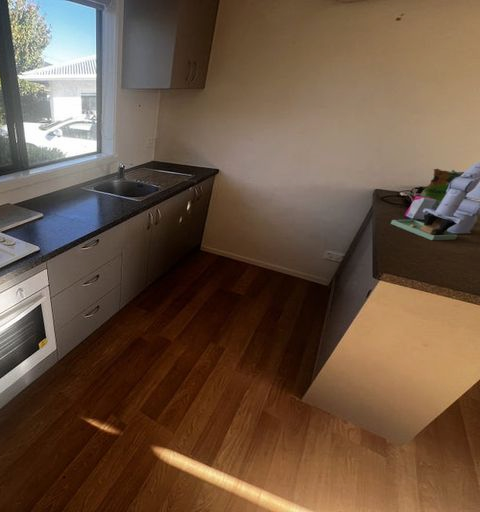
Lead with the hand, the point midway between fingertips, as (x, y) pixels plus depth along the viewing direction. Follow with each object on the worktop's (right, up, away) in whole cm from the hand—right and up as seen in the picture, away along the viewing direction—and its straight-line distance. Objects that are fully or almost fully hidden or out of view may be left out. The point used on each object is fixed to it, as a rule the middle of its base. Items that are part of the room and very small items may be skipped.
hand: (431, 232), depth 136 cm
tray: (0, +1, +4) cm, 4 cm away
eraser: (0, -1, 0) cm, 1 cm away
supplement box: (+13, +9, +20) cm, 25 cm away
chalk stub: (-1, +4, +7) cm, 8 cm away
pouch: (+24, +11, +23) cm, 35 cm away
